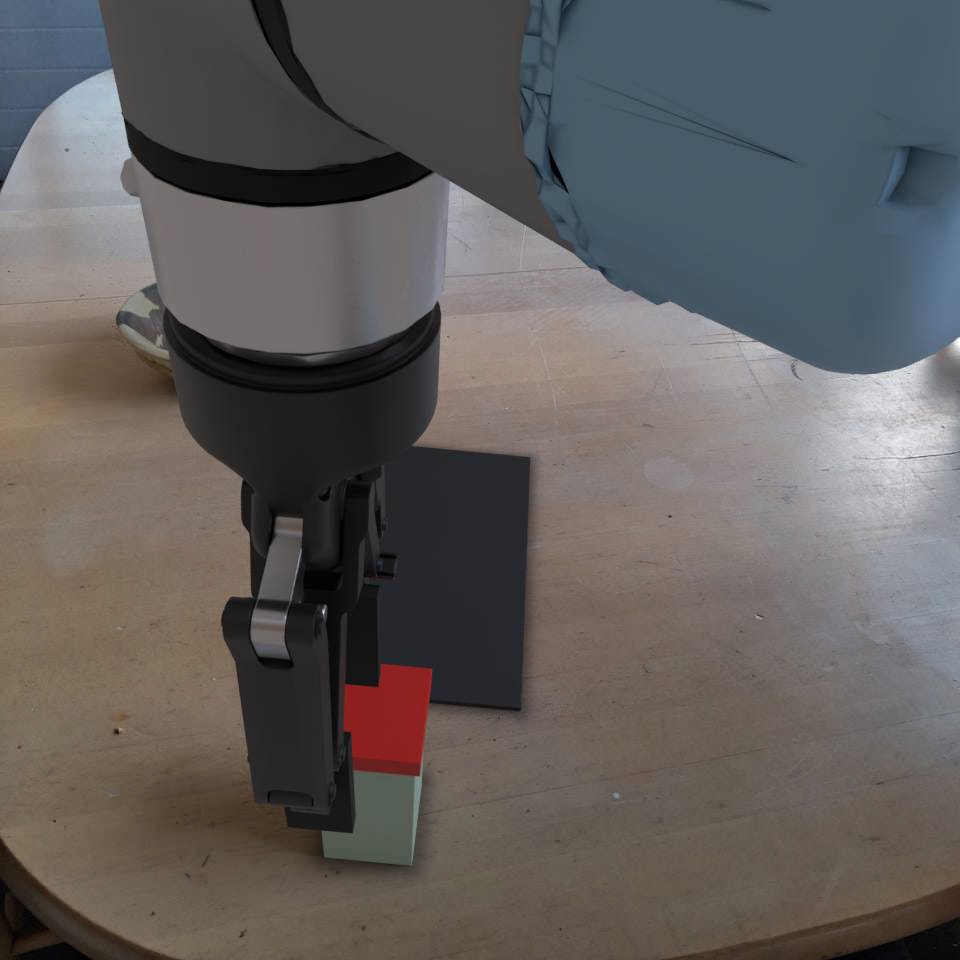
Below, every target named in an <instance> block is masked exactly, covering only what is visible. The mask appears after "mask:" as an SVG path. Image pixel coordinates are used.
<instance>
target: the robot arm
mask: <svg viewBox="0 0 960 960" xmlns="http://www.w3.org/2000/svg"><path fill="white" fill-rule="evenodd" d="M97 2H98V6H99V11H100V16H101V18H102V19H101V20H102V24H103V25H102V26H103V29H104V34H105V38H106V44H107V48H108V53H109V58H110V63H111V67H112V71H113V76H114V81H115V82H114V83H115V85H116V90H117V96H118V100H119V105H120V110H121V111H120V113H121V116H122V119H123V124H124V128H125V129H124V130H125V134H126V140H127V146H128V148H129V151H130V157H129V158H127V159H125V160H124V162H123V165H122V169H121V172H120V175H119V179H120V182H121V185H122V188H123V190H124V191H125V192H126V193H127V194H128V195H129V196H131V197H136V198H139V203H140V207H141V212H142V215H143V217H142V218H143V222H144V226H145V232H146V237H147V243H148V247H149V252H150V257H151V262H152V267H153V273H154V277H155V283H157V288H158V292H159V294H160V297H161V300H162V302H163V304H164V305H165V306H166V308H165V312H164V316H163V327H164V332H165V337H166V342H167V347H168V352H169V357H170V362H171V367H172V373H173V378H172V379H173V382H174V388H175V392H176V398H177V402H178V408H179V411H180V416H181V418H182V421H183V424H184V426H185V428H186V429H187V432H188V433H189V435H191V437H192V438H193V440H194V441H195V442H196V443H197V445H199V447H201V448H202V450H204V452H206V453H207V454H209V455H210V456H211V457H213V458H214V459H215V460H217V461H218V462H220V463H221V464H223V465H224V466H226V467H227V468H228V469H230V470H231V471H232V472H233V473H235V474H236V475H238V476H239V477H240V478H241V479H242V481H241V485H240V487H241V488H240V519H241V520H240V521H241V524H242V526H243V527H244V528H245V530H246V531H247V532H248V535H249V569H250V574H249V575H250V593H251V596H230V597H229V598H228V599H227V601H226V602H225V605H224V607H223V610H222V612H221V617H220V627H221V628H222V629H221V630H222V638H223V641H224V643H225V645H226V647H227V648H228V651H229V652H230V655H231V657H232V659H233V661H234V663H235V671H236V679H237V685H238V693H239V699H240V707H241V713H242V722H243V729H244V737H245V743H246V748H247V750H246V751H247V757H246V760H247V763H248V764H249V772H250V779H251V787H252V793H253V801H254V804H257V805H268V806H274V807H284V814H285V820H286V826H287V828H290V829H291V828H292V829H299V830H310V831H331V832H341V833H352V834H353V830H354V824H355V818H356V810H355V792H354V773H353V755H352V736H351V732H346V731H344V705H345V684H348V685H359V686H369V687H379V682H380V676H381V648H380V585H374V584H369V578H376V579H387V580H394V579H395V574H396V567H397V553H389V552H380V549H379V542H378V537H381V538H382V537H383V534H384V531H385V530H387V524H388V519H386V517H385V476H384V464H386V463H388V462H389V461H391V460H393V459H395V458H396V457H398V456H399V455H401V454H402V453H404V452H405V451H406V450H407V449H409V448H410V447H411V446H414V444H415V443H416V442H417V441H419V439H420V438H421V437H422V436H423V434H424V433H425V432H426V431H427V428H428V427H429V425H430V424H431V422H432V420H433V417H434V415H435V413H436V409H437V405H438V397H439V377H440V354H441V329H442V310H441V305H440V302H439V299H440V297H441V295H442V293H443V292H444V290H445V280H446V279H445V278H446V264H447V263H446V262H447V242H448V223H449V205H450V204H449V203H450V186H451V184H450V183H452V184H454V185H455V186H457V187H459V188H461V189H462V190H464V191H466V192H467V193H469V194H471V195H473V196H474V197H476V198H478V199H479V200H481V201H483V202H485V203H486V204H488V205H489V206H490V207H493V208H494V209H497V210H498V211H500V212H502V213H504V214H505V215H507V216H508V217H510V218H512V219H513V220H515V221H517V222H519V223H520V224H522V225H523V226H526V227H527V228H529V229H531V230H532V231H534V232H536V233H537V234H539V235H541V236H543V237H544V238H546V239H548V240H550V241H551V242H553V243H554V244H556V245H558V246H560V248H563V249H564V250H566V251H568V252H570V253H571V254H573V255H574V256H576V257H577V258H578V259H579V260H580V261H581V262H582V263H583V264H584V265H585V266H587V267H588V268H589V269H591V270H594V271H598V272H599V273H600V274H601V275H602V276H603V277H604V278H605V280H606V282H608V283H609V284H611V285H612V286H614V287H616V288H618V289H619V290H621V291H622V292H625V293H627V292H630V291H632V292H633V293H634V294H636V295H637V296H639V297H641V298H643V299H645V300H646V301H648V302H650V303H652V304H654V305H655V306H660V305H664V304H666V303H673V304H675V305H677V306H679V307H680V308H682V309H684V310H685V311H687V312H689V313H690V314H697V315H699V316H701V317H704V318H705V319H707V320H710V321H712V322H714V323H716V324H718V325H721V326H724V327H725V328H727V329H729V330H732V331H734V332H736V333H738V334H741V335H743V336H745V337H747V338H750V339H752V340H754V341H756V342H758V343H760V344H763V345H765V346H767V347H769V348H771V349H773V350H775V351H779V352H780V353H783V354H785V355H787V356H789V357H792V358H794V359H795V360H797V361H800V362H802V363H804V364H807V365H809V366H811V367H814V368H816V369H819V370H822V371H826V372H831V373H836V374H845V375H862V376H866V375H867V376H869V375H876V374H877V375H878V374H881V373H888V372H892V371H897V370H901V369H905V368H908V367H910V366H911V365H914V364H917V363H918V362H921V361H923V360H925V359H927V358H929V357H931V356H933V355H936V354H937V353H939V352H940V351H942V350H944V349H945V348H947V347H948V346H950V345H951V344H953V343H954V342H956V341H957V340H958V339H959V338H960V0H97Z"/></svg>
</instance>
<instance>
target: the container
mask: <svg viewBox="0 0 960 960" xmlns="http://www.w3.org/2000/svg"><path fill="white" fill-rule="evenodd" d="M431 683H432V669H429V668H418V667H407V666H397V665H386V664H381V676H380V682H379V687H369V686H359V685H348V684H345V705H344V731H346V732H351V736H352V755H353V773H354V792H355V810H356V818H355V824H354V830H353V834H352V833H341V832H331V831H321V840H322V848H323V857H324V859H325V858H327V859H335V860H336V859H337V860H345V861H346V860H347V861H359V862H365V863H366V862H367V863H379V864H388V865H389V864H390V865H399V866H409V867H411V866H413V860H414V852H415V844H416V836H417V835H416V834H417V827H418V819H419V811H420V805H421V804H420V802H421V794H422V786H423V770H424V750H425V749H424V748H425V739H426V731H427V723H428V714H429V709H430V708H429V706H430V702H429V700H430V692H431Z"/></svg>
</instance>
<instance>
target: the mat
mask: <svg viewBox="0 0 960 960" xmlns="http://www.w3.org/2000/svg"><path fill="white" fill-rule="evenodd" d="M384 476H385V517H386V519H388V524H387V530H385V531H384V534H383V537H382V538H381V537H378V542H379V549H380V552H389V553H397V567H396V574H395V579H394V580H387V579H376V578H369V584H374V585H380V648H381V664H386V665H397V666H407V667H418V668H429V669H432V683H431V692H430V700H429V703H435V704H446V705H457V706H466V707H478V708H485V709H486V708H487V709H488V708H489V709H496V710H497V709H498V710H508V711H519V712H520V711H521V710H522V697H523V695H522V694H523V693H522V691H523V666H524V665H523V664H524V641H525V640H524V639H525V615H526V613H525V612H526V611H525V610H526V609H525V608H526V588H527V587H526V585H527V583H526V582H527V563H528V561H527V556H528V535H529V534H528V532H529V506H530V505H529V504H530V481H531V478H530V477H531V456H523V455H513V454H512V455H511V454H502V453H490V452H480V451H470V450H459V449H450V448H449V449H447V448H436V447H427V446H418V445H417V446H416V445H412V446H411V447H410V448H409V449H407V450H406V451H405V452H404V453H402V454H401V455H399V456H398V457H396V458H395V459H393V460H391V461H389V462H388V463H386V464H384Z"/></svg>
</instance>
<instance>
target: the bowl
mask: <svg viewBox="0 0 960 960" xmlns="http://www.w3.org/2000/svg"><path fill="white" fill-rule="evenodd" d="M165 308H166V306H165V305H164V304H163V302H162V300H161V297H160V294H159V292H158V288H157V283H156V282H153V283H152V284H149V285H147V286H145V287H143V288H141V289H139V290H138V291H136V292H135V293H134V294H132V295H131V296H130V297H128V299H126V300H125V302H124V303H123V304H122V305H121V307H120V309H119V310H118V312H117V314H116V316H115V324H116V327H117V328H118V330H119V333H120V334H121V336H122V337H123V339H125V340H126V341H127V342H128V344H129V346H130V347H132V348H133V350H134V352H135V353H136V355H137V356H138V358H139V359H140V360H141V361H143V362H144V363H145V364H146V365H148V367H150V368H152V369H153V370H154V371H157V372H158V373H160V374H162V375H164V376H167V377H170V378H172V379H174V378H173V373H172V367H171V362H170V357H169V352H168V347H167V342H166V337H165V332H164V327H163V316H164V312H165Z"/></svg>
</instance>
